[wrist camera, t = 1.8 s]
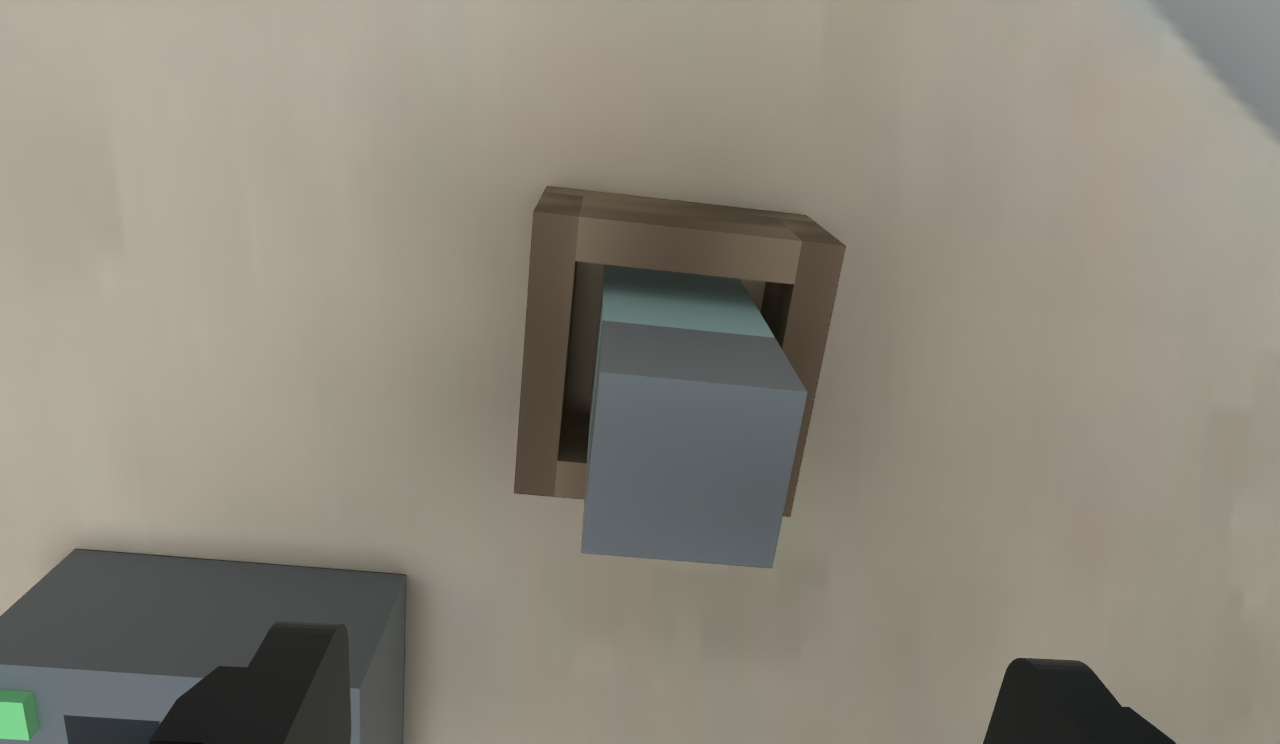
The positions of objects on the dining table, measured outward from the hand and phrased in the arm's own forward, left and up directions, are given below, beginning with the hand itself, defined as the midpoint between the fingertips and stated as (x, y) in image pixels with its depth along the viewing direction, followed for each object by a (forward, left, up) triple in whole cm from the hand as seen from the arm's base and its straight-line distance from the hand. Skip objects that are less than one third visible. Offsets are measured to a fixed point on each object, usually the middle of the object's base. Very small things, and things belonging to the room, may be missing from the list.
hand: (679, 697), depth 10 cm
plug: (-1, 0, -13) cm, 13 cm away
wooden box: (-1, 0, -14) cm, 14 cm away
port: (+11, +13, -14) cm, 22 cm away
